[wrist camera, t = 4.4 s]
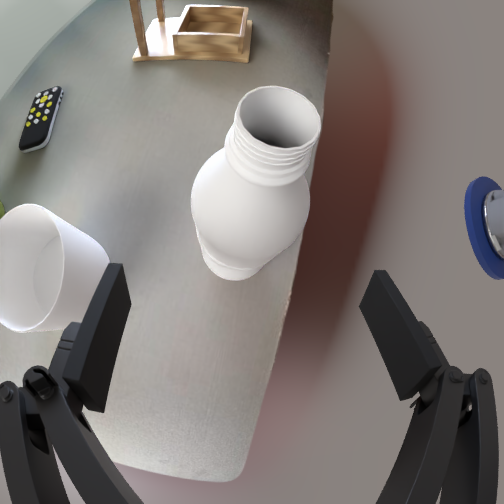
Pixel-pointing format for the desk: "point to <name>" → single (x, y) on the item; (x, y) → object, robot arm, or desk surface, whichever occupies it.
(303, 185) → the water bottle
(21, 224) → the cup
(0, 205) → the flower pot
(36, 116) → the remote control
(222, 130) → the desk surface
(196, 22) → the rack
